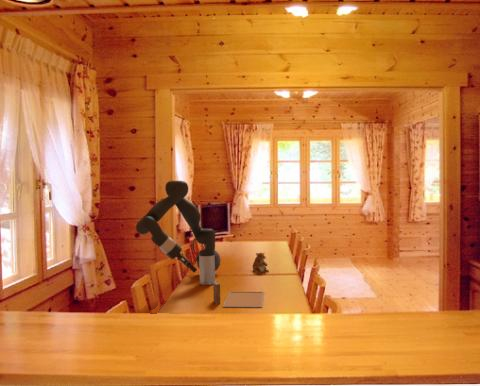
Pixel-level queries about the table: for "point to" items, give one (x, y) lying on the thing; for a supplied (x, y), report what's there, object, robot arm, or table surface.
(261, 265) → the brown bear figurine
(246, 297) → the picture frame
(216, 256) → the pitcher
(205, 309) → the table surface
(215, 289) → the walnut tile
